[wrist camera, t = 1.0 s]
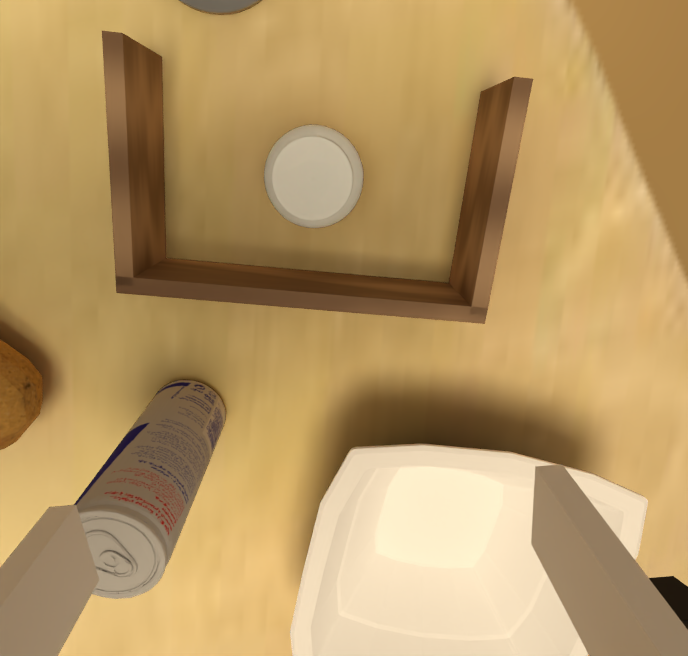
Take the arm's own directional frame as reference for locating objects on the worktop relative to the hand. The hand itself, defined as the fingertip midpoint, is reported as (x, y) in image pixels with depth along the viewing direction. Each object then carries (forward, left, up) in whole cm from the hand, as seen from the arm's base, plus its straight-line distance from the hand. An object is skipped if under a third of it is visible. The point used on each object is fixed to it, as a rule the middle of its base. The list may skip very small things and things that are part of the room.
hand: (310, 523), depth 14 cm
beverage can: (-1, -13, -23) cm, 26 cm away
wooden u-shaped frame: (-6, +6, -23) cm, 24 cm away
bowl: (+20, -6, -23) cm, 31 cm away
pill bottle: (-7, +6, -23) cm, 25 cm away
